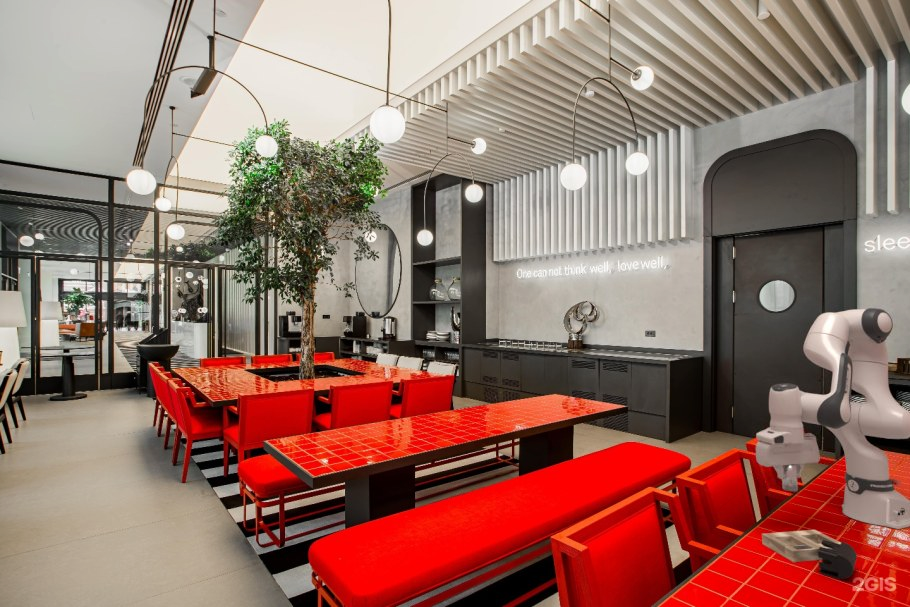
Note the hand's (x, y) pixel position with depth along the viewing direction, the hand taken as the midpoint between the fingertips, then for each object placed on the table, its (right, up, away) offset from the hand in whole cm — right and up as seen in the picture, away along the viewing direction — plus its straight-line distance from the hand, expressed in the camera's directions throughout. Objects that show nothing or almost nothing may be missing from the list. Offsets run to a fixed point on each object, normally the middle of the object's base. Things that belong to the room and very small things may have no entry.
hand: (789, 477), depth 149 cm
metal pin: (0, -4, 0) cm, 4 cm away
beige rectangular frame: (-5, -17, -13) cm, 21 cm away
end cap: (-5, -16, -25) cm, 30 cm away
